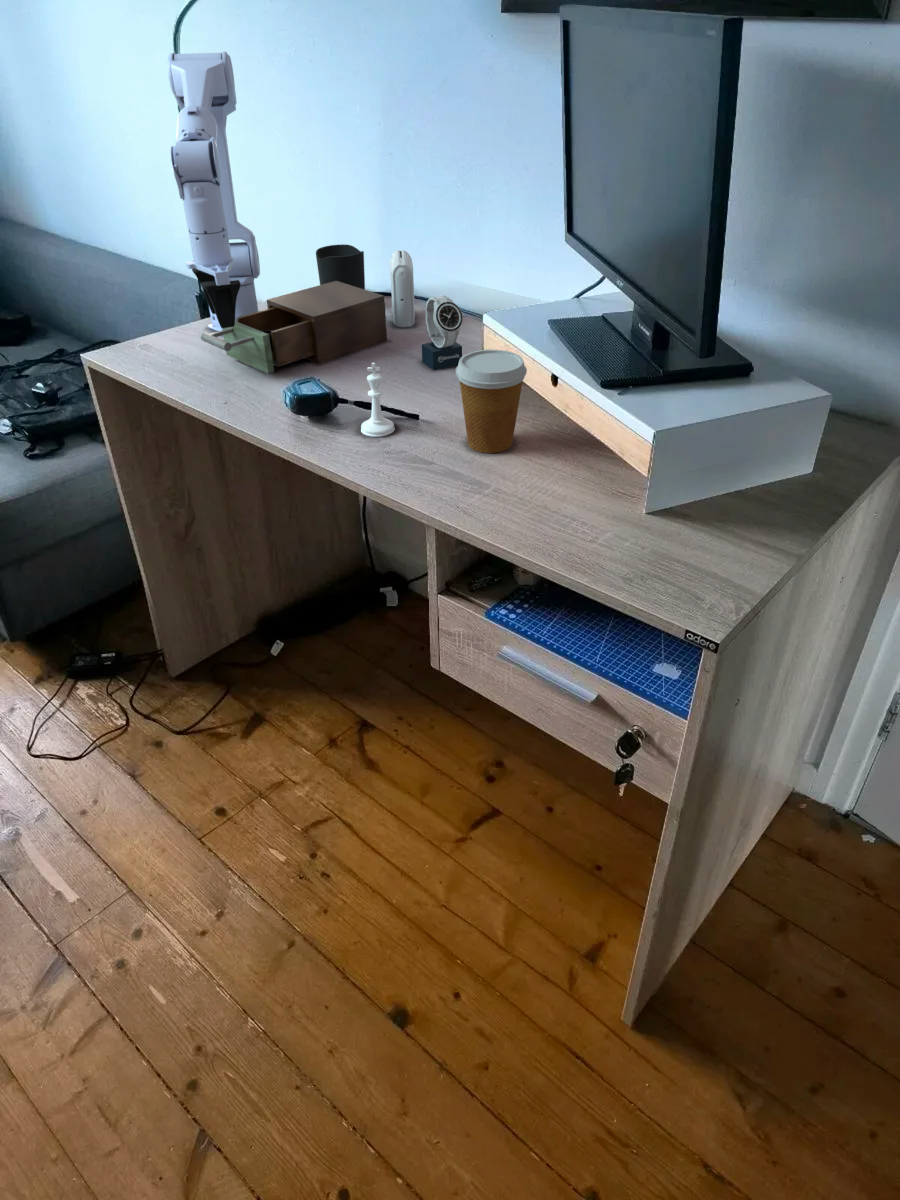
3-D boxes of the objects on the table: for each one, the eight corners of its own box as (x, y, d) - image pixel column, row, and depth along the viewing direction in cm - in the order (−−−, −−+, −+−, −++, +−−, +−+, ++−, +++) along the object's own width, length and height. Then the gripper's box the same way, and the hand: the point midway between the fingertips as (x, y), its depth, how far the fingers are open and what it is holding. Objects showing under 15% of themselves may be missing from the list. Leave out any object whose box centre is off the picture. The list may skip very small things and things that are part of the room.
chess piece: (360, 423, 127) (355, 357, 121) (394, 421, 127) (390, 356, 121) (360, 437, 123) (355, 370, 117) (395, 436, 123) (391, 369, 117)
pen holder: (315, 308, 171) (309, 256, 165) (328, 294, 178) (323, 243, 172) (360, 310, 170) (356, 257, 164) (371, 295, 177) (368, 245, 171)
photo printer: (416, 327, 161) (413, 259, 153) (393, 328, 160) (389, 260, 153) (413, 310, 169) (411, 244, 162) (392, 311, 169) (388, 245, 161)
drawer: (238, 383, 137) (232, 345, 134) (197, 364, 144) (190, 327, 141) (337, 351, 149) (333, 314, 145) (294, 334, 156) (290, 299, 152)
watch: (438, 374, 142) (437, 307, 135) (417, 358, 148) (415, 294, 141) (468, 367, 144) (468, 301, 137) (446, 352, 150) (445, 288, 143)
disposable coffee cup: (446, 452, 118) (445, 369, 111) (469, 425, 126) (469, 345, 118) (512, 463, 116) (514, 378, 108) (532, 434, 123) (535, 352, 116)
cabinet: (319, 364, 146) (313, 316, 141) (272, 345, 154) (266, 299, 149) (387, 341, 155) (384, 295, 150) (340, 324, 163) (336, 280, 158)
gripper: (173, 222, 133) (190, 310, 141) (188, 243, 123) (205, 337, 131) (219, 217, 136) (233, 304, 144) (237, 238, 125) (251, 330, 133)
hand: (223, 319), depth 137 cm, fingers open, 7 cm apart
